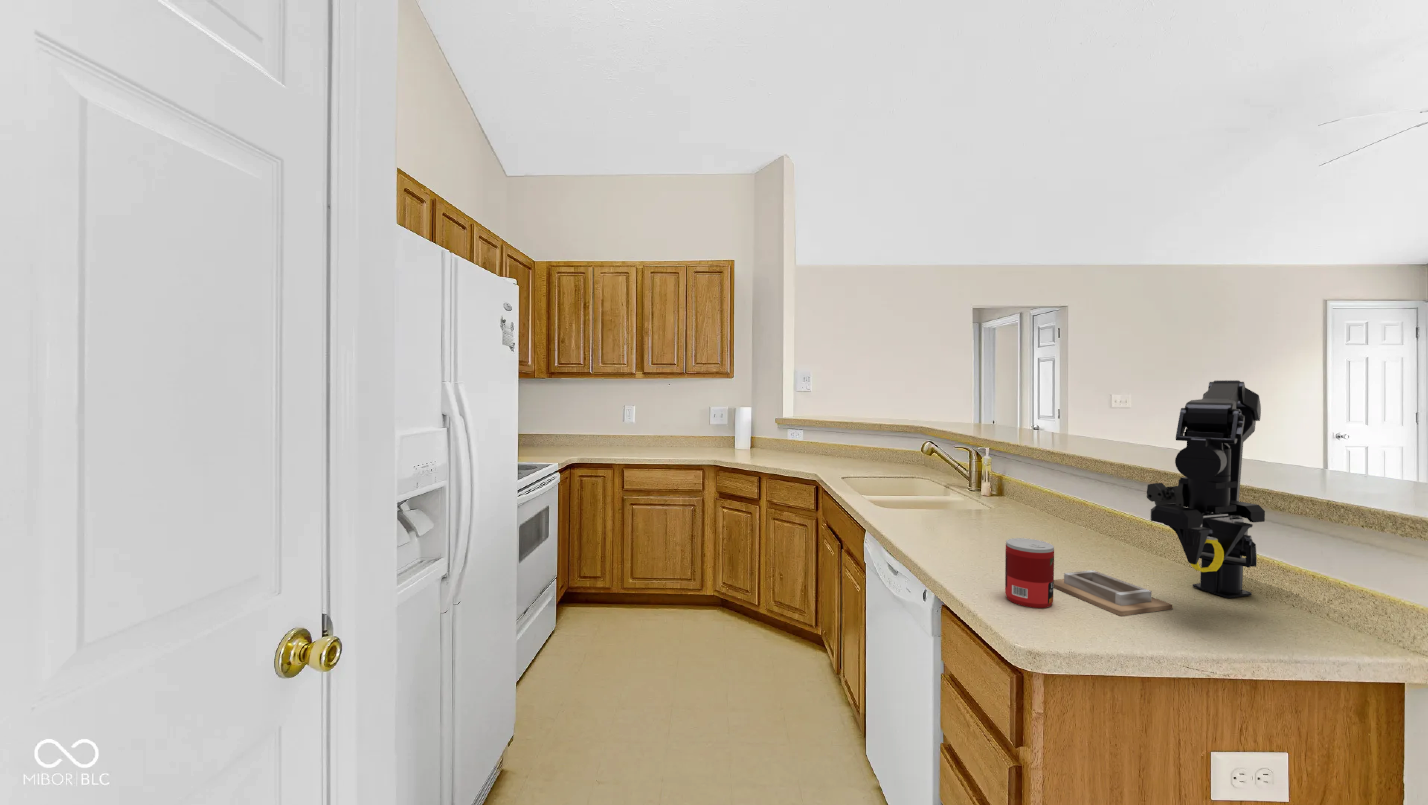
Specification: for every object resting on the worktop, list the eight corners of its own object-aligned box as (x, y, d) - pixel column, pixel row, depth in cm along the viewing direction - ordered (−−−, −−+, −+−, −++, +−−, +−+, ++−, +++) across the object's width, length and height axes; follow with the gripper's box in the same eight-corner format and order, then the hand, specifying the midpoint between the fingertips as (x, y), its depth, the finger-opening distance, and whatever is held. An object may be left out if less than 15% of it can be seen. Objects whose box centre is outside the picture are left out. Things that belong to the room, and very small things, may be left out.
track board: (1093, 579, 117) (1093, 566, 117) (1172, 608, 102) (1172, 593, 101) (1046, 584, 114) (1046, 571, 114) (1120, 616, 99) (1120, 600, 98)
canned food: (1060, 610, 101) (1061, 550, 101) (1012, 607, 103) (1013, 548, 102) (1044, 594, 109) (1044, 538, 108) (999, 591, 110) (1000, 536, 110)
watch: (1210, 568, 100) (1213, 535, 100) (1227, 573, 97) (1230, 539, 97) (1183, 568, 98) (1185, 535, 98) (1199, 573, 96) (1202, 539, 96)
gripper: (1198, 465, 107) (1196, 545, 108) (1121, 469, 103) (1120, 553, 103) (1268, 474, 97) (1265, 563, 97) (1186, 479, 92) (1184, 572, 92)
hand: (1206, 562), depth 98 cm, fingers closed on watch, 6 cm apart
